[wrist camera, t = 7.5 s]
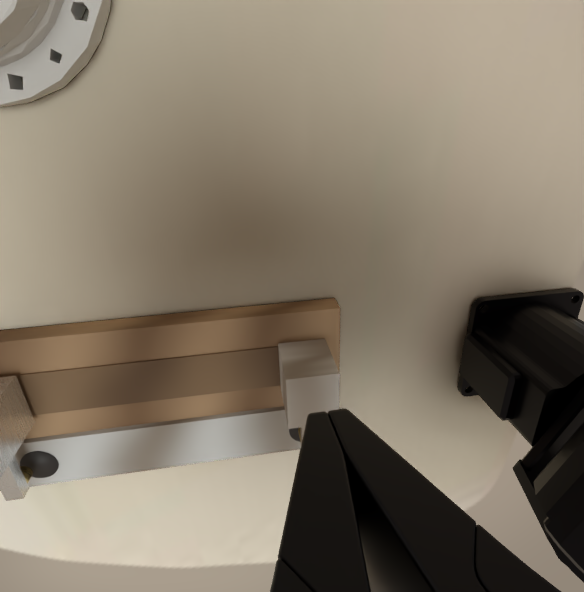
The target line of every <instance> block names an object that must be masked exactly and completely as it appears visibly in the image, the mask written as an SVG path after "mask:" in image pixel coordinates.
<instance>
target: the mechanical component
mask: <svg viewBox="0 0 584 592" xmlns="http://www.w3.org/2000/svg"><path fill="white" fill-rule="evenodd" d="M110 6H111V0H0V106H3V107H5V106H11V105H17V104H23V103H29V102H32V101H34V100H36V99H39V98H41V97H43V96H46V95H48V94H50V93H52V92H55V91H57V90H59V89H61V88H64V87H65V86H66V85H67V84H68V83H69V82H70V81H71V80H72V79H73V78H74V77H75V76H76V75H77V74H78V73H79V72H80V71H81V70H82V69H83V68H84V67H85V66H86V65H87V64H88V62H89V60H90V59H91V57H92V55H93V53H94V52H95V50H96V48H97V47H98V45H99V43H100V41H101V39H102V36H103V33H104V29H105V26H106V23H107V19H108V16H109V13H110ZM86 8H88V10H89V15H88V19H87V21H82V20H81V18H82V16H83V14H84V12H85V10H86ZM61 55H62V58H61ZM60 59H61V60H60ZM21 77H23V83H22V79H21Z"/></svg>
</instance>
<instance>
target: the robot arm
mask: <svg viewBox="0 0 584 592" xmlns="http://www.w3.org/2000/svg"><path fill="white" fill-rule="evenodd" d="M583 298H584V295H583V293H582V292H581V291H579V290H576V289H573V288H571V289H561V290H551V291H542V292H532V293H522V294H512V295H502V296H492V297H482V298H478V299H477V300H475V301H474V303H473V304H472V307H471V313H470V319H469V325H468V330H467V336H466V338H465V342H464V347H463V353H462V359H461V365H460V371H459V372H460V376H459V382H458V390H459V391H460V393H461V394H462V395H463V396H474V395H479V396H480V397H481V398H482V399H483V400H484V401H485V402H486V403H487V405H488V406H489V407H490V408H491V409H492V410H493V411H494V412H495V414H496V415H497V416H498V417H499V418H500V419H502V420H509V421H510V422H511V423H512V425H513V426H514V427H515V428H516V429H517V430H518V431H519V432H520V433H521V434H522V436H523V437H524V438H525V439H526V440H527V441H528V442H529V443H530V444H531V445H532V446H533V447H532V449H531V450H530V451H529V452H528V453H527V455H526V456H525V457H524V458H523V459H522V460H519V461H518V462H517V463H516V464H515V466H514V467H513V470H514V472H515V474H516V476H517V478H518V480H519V482H520V484H521V486H522V488H523V490H524V492H525V494H526V496H527V499H528V501H529V502H530V504H531V507H532V509H533V510H534V513H535V515H536V517H537V519H538V520H539V523H540V525H541V527H542V529H543V531H544V533H545V535H546V537H547V539H548V540H549V542H550V544H551V545H552V547H553V549H554V551H555V553H556V555H557V556H558V558H559V559H560V560H561V561H562V562H563V563H564V564H565V565H567V566H568V567H569V568H570V569H571V571H572V572H573V573H574V574H575V575H576V576H578V577H579V578H580V579H581V580H582V581H583V582H584V322H583V321H581V320H580V319H578V315H579V312H580V308H581V305H582V302H583ZM483 305H484V307H483V308H482V309H480V308H481V307H482V306H483ZM467 387H468V388H467ZM270 592H561V591H559V590H558V589H557V588H556V587H554V586H553V585H552V584H550V583H549V582H548V581H547V580H545V579H544V578H543V577H541V576H540V575H539V574H537V573H536V572H535V571H534V570H532V569H531V568H530V567H528V566H527V565H526V564H525V563H523V562H522V561H521V560H520V559H519V558H518V557H517V556H515V555H514V554H513V553H512V552H511V551H509V550H508V549H507V548H506V547H505V546H503V545H502V544H501V543H500V542H499V541H497V540H496V539H495V538H494V537H493V536H492V535H491V534H489V533H488V532H487V531H486V530H485V529H484V528H483V527H481V526H480V525H476V522H475V521H474V520H473V519H472V518H471V517H470V516H469V515H467V514H466V513H465V512H464V511H463V510H462V509H461V508H460V507H458V506H457V505H456V504H455V503H454V502H453V501H452V500H450V499H449V498H448V497H447V496H446V495H445V494H444V493H442V492H441V491H440V490H439V489H438V488H437V487H436V486H434V485H433V484H432V483H431V482H430V481H429V480H428V479H426V478H425V477H424V476H423V475H422V474H421V473H420V472H418V471H417V470H416V469H415V468H414V467H413V466H412V465H410V464H409V463H408V462H407V461H406V460H405V459H404V458H402V457H401V456H400V455H399V454H398V453H397V452H396V451H394V450H393V449H392V448H391V447H390V446H389V445H388V444H386V443H385V442H384V441H383V440H382V439H381V438H380V437H378V436H377V435H376V434H375V433H374V432H373V431H372V430H370V429H369V428H368V427H367V426H366V425H365V424H364V423H362V422H361V421H360V420H359V419H358V418H357V417H356V416H354V415H353V414H352V413H351V412H350V411H349V410H347V409H337V410H330V411H329V412H328V413H327V412H325V411H322V412H315V413H310V414H308V416H307V421H306V425H305V430H304V435H303V440H302V444H301V449H300V454H299V459H298V464H297V468H296V473H295V478H294V483H293V487H292V492H291V497H290V502H289V506H288V511H287V516H286V521H285V526H284V530H283V535H282V540H281V545H280V549H279V554H278V560H277V562H276V567H275V572H274V577H273V582H272V586H271V590H270Z"/></svg>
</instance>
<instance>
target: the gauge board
mask: <svg viewBox="0 0 584 592" xmlns="http://www.w3.org/2000/svg"><path fill="white" fill-rule="evenodd" d="M339 353H340V307H339V305H338V303H337V302H336V300H335V298H329V299H318V300H308V301H298V302H287V303H277V304H267V305H257V306H246V307H236V308H226V309H215V310H205V311H195V312H184V313H174V314H164V315H153V316H143V317H133V318H122V319H112V320H102V321H91V322H81V323H71V324H61V325H50V326H40V327H30V328H19V329H9V330H0V377H8V376H17V379H18V381H19V384H20V386H21V389H22V391H23V394H24V396H25V399H26V401H27V404H28V406H29V409H30V411H31V413H32V416H33V418H34V421H35V423H34V425H33V427H32V428H31V430H30V431H29V433H28V435H27V436H26V438H25V439H24V441H23V443H22V444H21V446H20V447H19V449H18V451H17V452H16V454H15V457H16V460H17V462H18V464H19V466H20V467H21V466H27V467H30V468H31V469H32V470H33V475H32V477H31V479H30V480H29V482H28V486H29V487H32V486H40V485H47V484H54V483H61V482H68V481H75V480H82V479H90V478H97V477H104V476H111V475H118V474H125V473H132V472H140V471H147V470H154V469H161V468H168V467H175V466H182V465H190V464H197V463H204V462H211V461H218V460H225V459H232V458H240V457H247V456H254V455H261V454H268V453H275V452H282V451H289V450H297V449H301V444H302V440H303V435H304V430H305V425H306V421H307V416H308V414H310V413H315V412H322V411H325V412H327V413H328V412H329V411H330V410H337V409H339V388H340V373H339ZM0 491H1V490H0Z"/></svg>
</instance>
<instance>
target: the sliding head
mask: <svg viewBox="0 0 584 592" xmlns="http://www.w3.org/2000/svg"><path fill="white" fill-rule="evenodd" d="M34 423H35V421H34V418H33V416H32V413H31V411H30V409H29V406H28V404H27V401H26V399H25V396H24V394H23V391H22V389H21V386H20V384H19V381H18V379H17V376H8V377H0V490H1V492H2V494H3V496H4V498H5V500H6V501H8V500H15V499H22V498H24V497H25V495H26V493H27V491H28V489H29V486H28V482H29V480H30V479H31V477H32V475H33V470H32V469H31V468H30V467H27V466H21V467H20V466H19V464H18V462H17V460H16V457H15V454H16V452H17V451H18V449H19V447H20V446H21V444H22V443H23V441H24V439H25V438H26V436H27V435H28V433H29V431H30V430H31V428H32V427H33V425H34Z"/></svg>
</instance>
